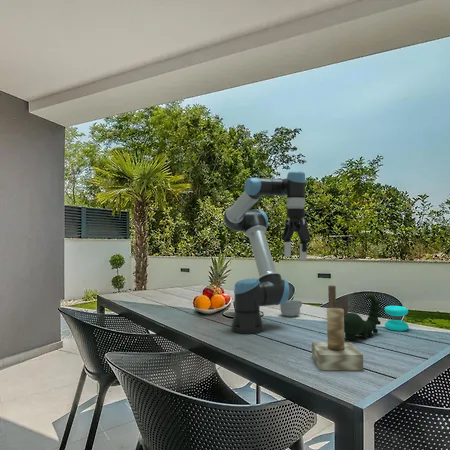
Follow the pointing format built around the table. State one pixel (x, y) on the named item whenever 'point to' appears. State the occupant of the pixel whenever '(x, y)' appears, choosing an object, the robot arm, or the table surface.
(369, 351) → the table surface
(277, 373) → the table surface
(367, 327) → the toy figurine
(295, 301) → the teacup
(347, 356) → the birch socket block
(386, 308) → the cyan spool
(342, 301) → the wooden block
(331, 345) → the oak peg
